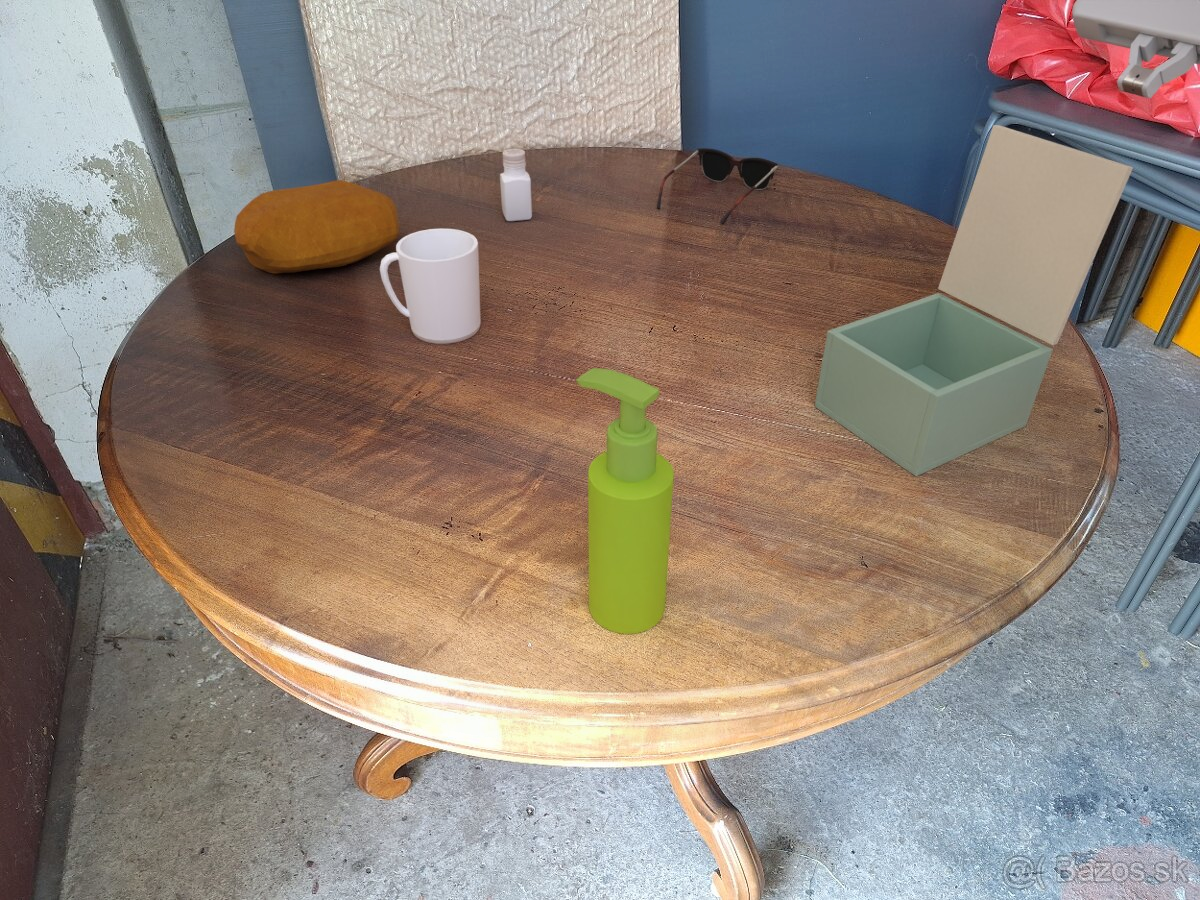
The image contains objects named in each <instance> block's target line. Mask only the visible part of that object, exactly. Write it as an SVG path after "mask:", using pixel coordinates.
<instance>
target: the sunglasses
mask: <svg viewBox="0 0 1200 900" xmlns="http://www.w3.org/2000/svg"><path fill="white" fill-rule="evenodd" d="M697 155H698V159H699V166H701V168H702V172H703V175H704V176H705V178H707V179H709V180H711V181H714V182H717V183H718V182H724V181H725V180H726V179H727V177H729V176H730V175H731V174H732V172H733V170H734V167H737V170H738V174H739V177H740V178H741V179H742V180H743V183H744V185H745V186H746V187H747V188H749V190H747V191H746V192H745V193H744V194H743V195H741V196H740V197H739V199H738V200H737V201H736V202H735V203H734V205H733V206H731V208H730V209H729V210H728V212H727V213H726V214H725V215H724V216H723V217H722V219H721V220H720V224H722V225H724V224H725V223H726V222H727V220H728V218H729V217H730V216H731V214H732V213H733V212H734V210H735V209H736V208H737V207H738V206H739V205H740V203H741V202H742V201H743V200H744V199H745V198H747V197H748V196H749V195H750V194H751V193H752V192H753V191H754V190H756V191H759V190H760V191H762V190H765V189H767V187H769V185H770V182H771V180H773V179H774V176H775V171H776V170H778V169H779V163H777V162H774V161H772V160H769V159H765V158H762V157H745V158H742V159H741V160H736V159H735V158H734V157H733V156H731V155H730V154H729V153H726V152H725V151H722V150H720V149H717V148H716V149H715V148H710V147H709V148H707V147H703V148H697V149H696V150H695V151H694V152H693V153H692V154H691V155H690V156H688V157H687V158H686V159H685V160H683V162H681V163H680V164H679V165H677V166H676V167H674V168H673V169H672V170H670V171H669V172H668V173H667V174H666V175H664V177H663V179H662V180H661V183H660V186H659V187H660V188H659V192H658V198H657V204H656V209H657V210H660V209H661V206H662V196H663V190H664V186H665V183H666V182H667V179H668V178H669V177H670V176H672V175H673V174H674V173H675V172H676V171H677V170H678V169H679V168H681V167H682V166H683V165H685V164H686V163H687V162H688V161H689V160H691V159H692V158H694V157H695V156H697Z"/></svg>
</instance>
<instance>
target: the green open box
mask: <svg viewBox="0 0 1200 900" xmlns="http://www.w3.org/2000/svg"><path fill="white" fill-rule="evenodd" d="M824 344H825V345H824V349H823V354H822V360H821V366H820V370H819V371H820V372H819V378H818V383H817V387H816V388H817V389H816V394H815V402H814V408H816V410H817V409H818V410H819V411H820V412H822V413H823V414H824V415H826V416H827V417H829V418H830V419H832V420H833V421H835V422H836V423H838V424H839V425H840V426H842V427H843V428H845V429H846V430H848V431H849V432H851V433H852V434H853V435H855V436H857V437H858V438H859V439H860V440H862V441H863V442H865V443H866V444H868V445H869V446H871V447H873V448H874V449H875V450H876V451H878V452H880V453H881V454H882V455H884V456H885V457H887V458H888V459H890V460H892V461H893V462H894V463H895V464H897V465H898V466H900V467H901V468H903V469H904V470H906V471H907V472H908V473H910V474H911V475H913V476H914V477H918V476H920V475H922V474H925V473H927V472H929V471H931V470H933V469H935V468H938V467H941V466H942V465H945V464H946V463H949V462H950V461H953V460H955V459H958V458H960V457H961V456H962V457H963V456H964V455H966V454H968V453H970V452H973V451H975V450H977V449H980V448H982V447H984V446H987V445H988V444H990V443H993V442H994V441H996V440H998V439H1001V438H1003V437H1005V436H1008V435H1009V434H1012V433H1014V432H1016V431H1018V430H1020V429H1022V428H1024V427H1027V424H1028V422H1029V418H1030V416H1031V413H1032V410H1033V407H1034V404H1035V402H1036V399H1037V396H1038V394H1039V390H1040V387H1041V384H1042V382H1043V380H1044V379H1043V378H1044V376H1045V373H1046V370H1047V367H1048V365H1049V361H1050V359H1051V356H1052V354H1053V351H1054V350H1053V348H1051V347H1049V346H1048V345H1046V344H1043V343H1041V342H1039V341H1038V340H1035V339H1034V338H1032V337H1030V336H1027V335H1025V334H1023V333H1021V332H1019V331H1018V330H1014V329H1013V328H1011V327H1009V326H1007V325H1005V324H1003V323H1001V322H999V321H997V320H995V319H993V318H991V317H989V316H987V315H984V314H983V313H980V312H979V311H977V310H975V309H973V308H971V307H969V306H966V305H965V304H964V303H963V304H962V303H960V302H959V301H956V300H955V299H952V298H951V297H948V296H946V295H944V294H943V293H941V292H937V293H934V294H931V295H929V296H928V295H927V296H926V297H922V298H920V299H917V300H914V301H911V302H908V303H905V304H902V305H899V306H896V307H893V308H890V309H887V310H885V311H881V312H879V313H875V314H873V315H870V316H867V317H864V318H861V319H858V320H855V321H852V322H850V323H847V324H844V325H840V326H838V327H835V328H832V329H829V330H827V331H826V338H825V343H824Z"/></svg>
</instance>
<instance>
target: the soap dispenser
mask: <svg viewBox="0 0 1200 900" xmlns="http://www.w3.org/2000/svg"><path fill="white" fill-rule="evenodd" d="M575 381H576V383H577V384H578V385H579V387H582V388H587V389H592V390H596V391H598V392H602V393H604V394H607V395H608V396H612V397H614V398H615V399H617V400H619V418H615V419H614V420H613V421H611V422H610V423H609V424H608V426H607V428H606V451H603V452H602V453H600V454H598V455H597V456H596V457H595V458H594V459H593V460H592V461H591V463H590V464H589V467H588V471H587V472H588V473H587V494H588V495H587V499H588V500H587V506H588V507H587V508H588V509H587V511H588V512H587V513H588V514H587V515H588V517H587V518H588V519H587V520H588V521H587V523H588V527H587V529H588V609H589V613H590V615H591V617H592V619H593V620H594V621H595V622H596V623H597V624H598V625H599V626H601V627H602V628H604V629H605V630H608V631H610V632H613V633H616V634H621V635H622V634H623V635H632V634H639V633H643V632H646V631H648V630H650V629H652V628H653V627H655V626H656V625H657V624H658V623H659V622H660V621H661V620H662V618H663V617H664V615H665V611H666V598H667V584H668V583H667V582H668V571H669V570H668V569H669V568H668V567H669V553H670V537H671V526H672V525H671V522H672V509H673V508H672V507H673V496H674V495H673V493H674V477H675V472H674V468H673V466H672V464H671V463H670V461H669V460H668V459H667V458H665V456H663V455H661V454H660V453H658V452H657V451H658V428H657V426H656V424H655V423H653V421H651V420H649V418H647V417H646V415H647V407H648V406H650V405H651V404H652V403H654V402H655V401H656V400H657V399H658V398H659V397H660V389H659V388H657V387H655V386H653V385H651V384H649V383H647V382H645V381H644V380H643V381H642V380H641V379H639V378H636V377H634V376H631V375H629V374H627V373H623V372H620V371H618V370H617V371H616V370H614V369H613V370H612V369H607V368H599V367H592V368H590V369H589V370H587V371H586V372H585V373H583V374H581V376H579V377H577V378H576V379H575Z"/></svg>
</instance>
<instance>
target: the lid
mask: <svg viewBox="0 0 1200 900" xmlns="http://www.w3.org/2000/svg"><path fill="white" fill-rule="evenodd" d="M1133 169H1134V167H1133V166H1130V165H1127V164H1124V163H1121V162H1117V161H1114V160H1111V159H1108V158H1105V157H1102V156H1099V155H1096V154H1092V153H1089V152H1086V151H1082V150H1079V149H1076V148H1073V147H1070V146H1067V145H1063V144H1060V143H1058V142H1054V141H1051V140H1047V139H1044V138H1042V137H1038V136H1035V135H1032V134H1029V133H1025V132H1022V131H1018V130H1015V129H1012V128H1010V127H1006V126H1003V125H999V124H993V125H992V127H991V130H990V134H989V137H988V140H987V142H986V146H985V149H984V151H983V154H982V158H981V161H980V164H979V166H978V169H977V172H976V176H975V178H974V181H973V185H972V187H971V190H970V193H969V196H968V199H967V202H966V205H965V207H964V211H963V213H962V216H961V219H960V222H959V226H958V227H957V232H956V235H955V237H954V240H953V243H952V246H951V249H950V251H949V256H948V258H947V261H946V263H945V266H944V269H943V272H942V274H941V275H942V276H941V278H940V281H939V284H938V287H937V289H938V290H939V291H941V292H944V293H945V294H948V295H950V296H952V297H954V298H955V299H958V300H960V301H962V302H963V303H965V304H968V305H970V306H972V307H973V308H976V309H978V310H980V311H982V312H985V313H986V314H988V315H990V316H992V317H994V318H996V319H998V320H1000V321H1003V322H1004V323H1005V324H1009V325H1010V326H1012V327H1015V328H1017V329H1018V330H1020V331H1023V332H1025V333H1027V334H1028V335H1031V336H1033V337H1035V338H1037V339H1039V340H1041V341H1042V342H1045V343H1047V344H1049V345H1051V346H1054V345H1057V344H1059V341H1060V338H1061V336H1062V334H1063V331H1064V329H1065V327H1066V325H1067V322H1068V320H1069V317H1070V315H1071V312H1072V310H1073V308H1074V306H1075V303H1076V302H1077V299H1078V296H1079V295H1080V292H1081V290H1082V287H1083V285H1084V283H1085V280H1086V278H1087V276H1088V273H1089V271H1090V270H1091V269H1090V268H1091V267H1092V264H1093V263H1094V262H1093V261H1094V260H1095V258H1096V255H1097V253H1098V250H1099V248H1100V247H1101V246H1100V245H1101V243H1102V242H1103V241H1102V240H1103V239H1104V236H1105V235H1106V232H1107V229H1108V227H1109V225H1110V223H1111V220H1112V218H1113V215H1114V213H1115V211H1116V208H1117V206H1118V205H1119V202H1120V199H1121V198H1122V195H1123V192H1124V190H1125V188H1126V185H1127V183H1128V181H1129V178H1130V176H1131V174H1132V172H1133Z"/></svg>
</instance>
